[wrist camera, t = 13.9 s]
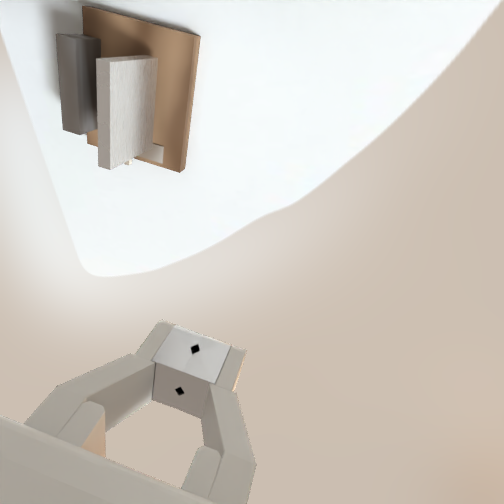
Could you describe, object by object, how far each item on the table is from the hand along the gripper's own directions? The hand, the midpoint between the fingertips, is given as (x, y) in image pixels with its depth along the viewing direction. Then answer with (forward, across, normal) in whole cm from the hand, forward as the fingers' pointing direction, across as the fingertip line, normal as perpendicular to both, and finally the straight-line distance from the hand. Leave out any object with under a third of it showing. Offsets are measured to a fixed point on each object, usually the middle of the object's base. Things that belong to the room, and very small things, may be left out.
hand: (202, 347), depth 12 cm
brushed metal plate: (+29, +19, +2) cm, 35 cm away
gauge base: (+31, +19, +1) cm, 37 cm away
